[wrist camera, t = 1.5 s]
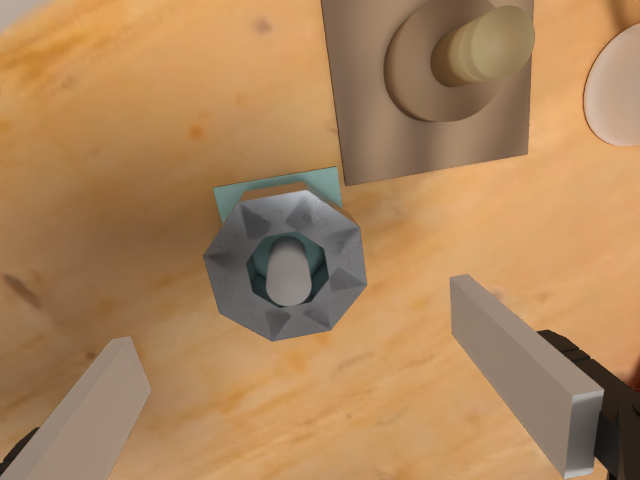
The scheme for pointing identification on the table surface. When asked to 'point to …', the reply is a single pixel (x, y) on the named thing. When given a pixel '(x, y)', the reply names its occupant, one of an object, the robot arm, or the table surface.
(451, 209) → the table surface
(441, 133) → the hub
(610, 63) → the mug
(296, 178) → the stand
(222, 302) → the clutch ring
